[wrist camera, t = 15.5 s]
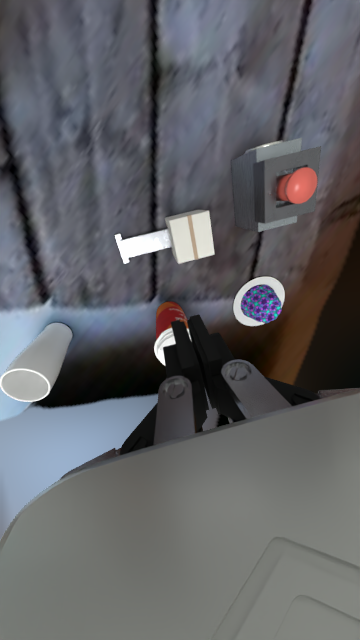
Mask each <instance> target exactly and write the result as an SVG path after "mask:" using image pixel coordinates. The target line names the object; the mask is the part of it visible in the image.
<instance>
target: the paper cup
mask: <svg viewBox="0 0 360 640" xmlns="http://www.w3.org/2000/svg"><path fill="white" fill-rule="evenodd" d="M176 320H180V322H182V321H184V323H185V325H186V328H187V331H188V334H189V337H190V333H189V328H188V324H187V318H186V316H185V314H184V312H183V310H182V309H181V307H180V306H179V305H178V304H177V303H175V302H165V303H163V304H161V305H160V306H159V307H158V309H157V313H156V343H155V347H154V351H155V355H156V357H157V358H158V359H159V360H160V362H161V363H162V364H164V365H165V359H164V352H163V347H165V346H169V345H173V344H176V343H175V339H174V334H173V330H172V326H171V322H172V321H176ZM190 339H191V337H190Z"/></svg>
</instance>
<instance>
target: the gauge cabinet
mask: <svg viewBox="0 0 360 640" xmlns="http://www.w3.org/2000/svg"><path fill="white" fill-rule="evenodd" d="M301 140H302V138H299V139H295V140H291V141H287V142H283V141H276V142H272V143H268V144H264V145H261V146H257V147H254V148H252V149H249V150H247V151H245V154H244V155H242V156H240V157H238V158H236V159H233V160H231V170H232V184H233V198H234V211H235V225H236V226H237V227H241V228H245V229H249V230H253V231H257V232H260V231H264V230H268V229H272V228H276V227H280V226H284V225H288V224H292V223H296V222H297V216H298V215H302V214H305V213H309V212H313V211H315V204H316V193H317V186H316V189H315V191H314V193H313V195H312V196H311V197H310V198H309V199H308V200H307V201H306V202H304V203H300V204H294V203H291V202H289V201H276V178H277V177H278V176H281V175H285V174H291V173H293V172H294V171H296V170H298V169H300V168H306V167H308V168H311V169H313V170H314V171H315V173H316V175H317V183H318V173H319V162H320V152H321V146H320V147H316V148H312V149H308V150H304V151H301Z"/></svg>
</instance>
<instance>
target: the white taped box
mask: <svg viewBox="0 0 360 640" xmlns="http://www.w3.org/2000/svg"><path fill="white" fill-rule="evenodd" d="M165 221H166V225H167V226H168V231H169V235H170V240H171V244H172V252H173V255H174V257H175V259H176V260H177V262H178V264H179V263H183V262H187V261H191V260H197V259H199V258H203V257H207V256H211V255H215V254H214V246H213V238H212V230H211V223H210V215H209V211H206V210H194V211H190V212H186V213H182V214H178V215H174V216H170V217H166V218H165Z"/></svg>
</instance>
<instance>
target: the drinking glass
mask: <svg viewBox="0 0 360 640" xmlns="http://www.w3.org/2000/svg"><path fill="white" fill-rule="evenodd" d="M71 340H72V331H71V329H70V328H69V327H68V326H66V325H64V324H62V323H51V324H49V325H48V326H46V327H45V329H44V330H43V331H42V332H41V333H40V334H39V335H38V336H37V337H36V338H35V339H34V340H33V341H32V342H31V343H30V344H29V345H28V346H27V347H26V348H25V349H24V350H23V351H22V352H21V353H20V354H19V355H18V356H17V357H16V358H15V359H14V360H13V362H12V363H11V364H10V365H9V367H8V368H7V369H6V371H5V372H4V374H3V375H2V376H1V378H0V387H1V389H2V391H3V392H4V393H5V394H6V395H8V396H9V397H11V398H13V399H16V400H19V401H25V402H32V401H38V400H41V399H43V398H44V397H46V396H47V395H48V394H49V392H50V390H51V388H52V387H53V385H54V383H55V381H56V379H57V377H58V375H59V372H60V369H61V367H62V364H63V361H64V358H65V355H66V352H67V349H68V346H69V344H70V342H71Z"/></svg>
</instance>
